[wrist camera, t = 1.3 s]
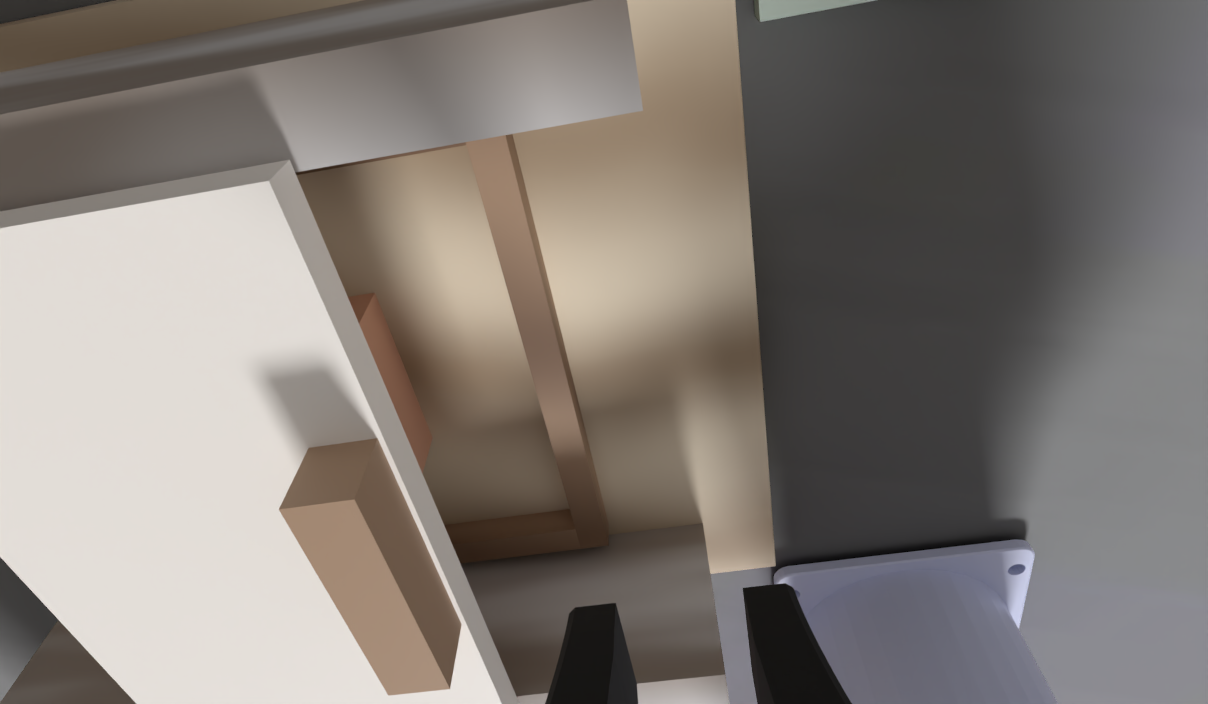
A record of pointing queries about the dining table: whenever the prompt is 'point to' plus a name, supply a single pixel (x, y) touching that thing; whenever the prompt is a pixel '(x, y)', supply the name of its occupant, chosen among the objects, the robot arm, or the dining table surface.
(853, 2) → the sage pad
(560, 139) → the beige wooden low frame
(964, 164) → the dining table surface
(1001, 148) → the dining table surface
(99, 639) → the sliding lid
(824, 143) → the dining table surface
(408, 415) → the terracotta block
